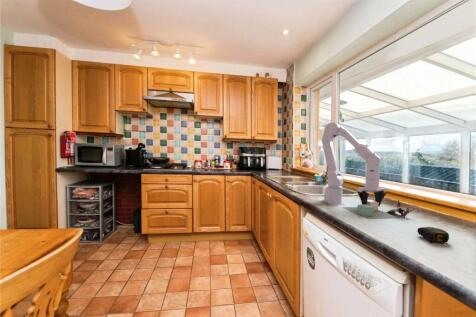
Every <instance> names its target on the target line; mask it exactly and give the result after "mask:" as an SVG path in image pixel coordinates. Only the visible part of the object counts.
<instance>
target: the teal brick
mask: <svg viewBox="0 0 476 317" xmlns="http://www.w3.org/2000/svg"><path fill="white" fill-rule="evenodd" d="M356 207H357V213H358V214H357V215H359V214H360V215H359V216H361V215H363V216H373V213H374V207H372V206H369V205H366V204H362V203H361V204H357V206H356ZM363 216H362V217H363Z"/></svg>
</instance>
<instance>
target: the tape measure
mask: <svg viewBox="0 0 476 317" xmlns="http://www.w3.org/2000/svg"><path fill="white" fill-rule="evenodd" d="M417 234H418V235H419V236H421V237H423V238H424V239H426V240H428V241H430V242H432V243H443V244H444V243H448V241H449V240H450V235H449V232H448V231H447V230H445V229H441V228H438V227H433V226H424V227H417Z"/></svg>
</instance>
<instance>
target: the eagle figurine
mask: <svg viewBox="0 0 476 317" xmlns="http://www.w3.org/2000/svg"><path fill="white" fill-rule="evenodd" d="M396 207H397V208H395V209H394V208H392V209H389V210H387V213H396V212H397V213H398V214H401V216H402V218H404V219H405V218H406V216H407V215H408V214H409V213H411V212H413V211H414V210H415V208H412V209H410V208H409V207H407V208H406V209H403V208H402V205H401V202H400V199H398V201H397V202H396Z"/></svg>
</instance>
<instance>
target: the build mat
mask: <svg viewBox="0 0 476 317" xmlns="http://www.w3.org/2000/svg"><path fill="white" fill-rule="evenodd" d="M357 207H358V206H349V207H348V206H347V207H346V206H343V207H341V209H342V208H343V209H345V210H348V211H349V212H352V213H353V214H357V215H359V216H362V217H363V218H366V219H368V220H380V219H381V220H383V219H384V220H385V219H387V220H389V219H401V217H400V216H397V215H393V214H390V212H385V211H383V210H379V209H378V210H374V213H373V216H363V215H360V214H358V213H357Z"/></svg>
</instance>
